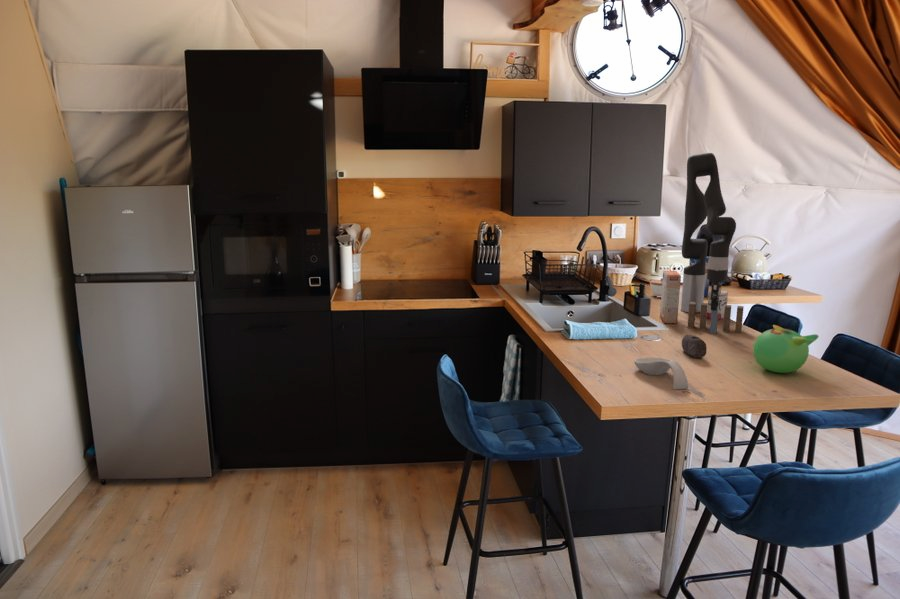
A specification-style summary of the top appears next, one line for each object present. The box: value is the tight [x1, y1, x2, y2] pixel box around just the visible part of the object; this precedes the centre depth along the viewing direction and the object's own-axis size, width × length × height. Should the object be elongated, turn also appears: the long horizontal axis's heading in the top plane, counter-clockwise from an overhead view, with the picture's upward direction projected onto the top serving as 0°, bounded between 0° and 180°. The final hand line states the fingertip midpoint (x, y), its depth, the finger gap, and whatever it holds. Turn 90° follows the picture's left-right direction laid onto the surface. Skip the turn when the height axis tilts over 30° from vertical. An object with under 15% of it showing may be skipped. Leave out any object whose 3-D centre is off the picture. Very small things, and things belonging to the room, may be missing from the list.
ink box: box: [707, 290, 729, 321], centre depth 286 cm, size 9×5×12 cm, turn 131°
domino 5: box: [734, 305, 745, 334], centre depth 262 cm, size 5×2×10 cm, turn 154°
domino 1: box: [687, 302, 696, 329], centre depth 270 cm, size 5×2×10 cm, turn 155°
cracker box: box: [659, 270, 682, 325], centre depth 280 cm, size 14×6×21 cm, turn 168°
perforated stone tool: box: [681, 334, 708, 359], centre depth 230 cm, size 15×5×7 cm, turn 0°
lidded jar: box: [650, 277, 663, 297], centre depth 335 cm, size 11×11×9 cm
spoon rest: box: [633, 357, 689, 391], centre depth 204 cm, size 24×12×7 cm, turn 11°
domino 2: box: [698, 302, 708, 330], centre depth 268 cm, size 5×2×10 cm, turn 154°
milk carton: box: [688, 256, 710, 297], centre depth 337 cm, size 10×6×20 cm, turn 73°
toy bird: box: [752, 324, 819, 374], centre depth 210 cm, size 18×17×15 cm
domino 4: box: [722, 304, 732, 333], centre depth 264 cm, size 5×2×10 cm, turn 155°
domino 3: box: [709, 307, 718, 334], centre depth 261 cm, size 5×2×10 cm, turn 155°
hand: (714, 308), depth 260 cm, fingers open, 8 cm apart
